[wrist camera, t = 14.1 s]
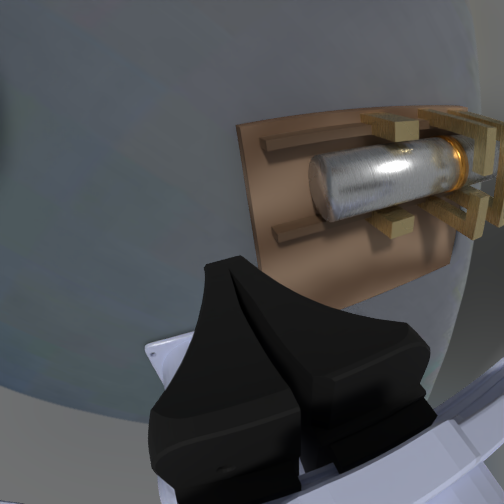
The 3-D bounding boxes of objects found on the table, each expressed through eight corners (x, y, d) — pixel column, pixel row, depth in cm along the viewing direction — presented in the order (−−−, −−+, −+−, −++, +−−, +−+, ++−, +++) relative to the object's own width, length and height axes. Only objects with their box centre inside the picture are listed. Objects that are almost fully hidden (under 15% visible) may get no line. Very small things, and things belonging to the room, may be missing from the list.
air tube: (465, 128, 22) (502, 137, 18) (465, 174, 24) (500, 187, 20) (304, 148, 19) (338, 159, 15) (311, 211, 21) (343, 234, 17)
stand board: (443, 259, 30) (457, 269, 28) (267, 325, 26) (276, 343, 24) (459, 105, 21) (478, 110, 20) (235, 125, 18) (246, 129, 16)
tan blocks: (456, 193, 24) (509, 223, 19) (362, 218, 23) (420, 263, 17) (461, 108, 20) (523, 127, 15) (360, 112, 18) (432, 130, 13)
